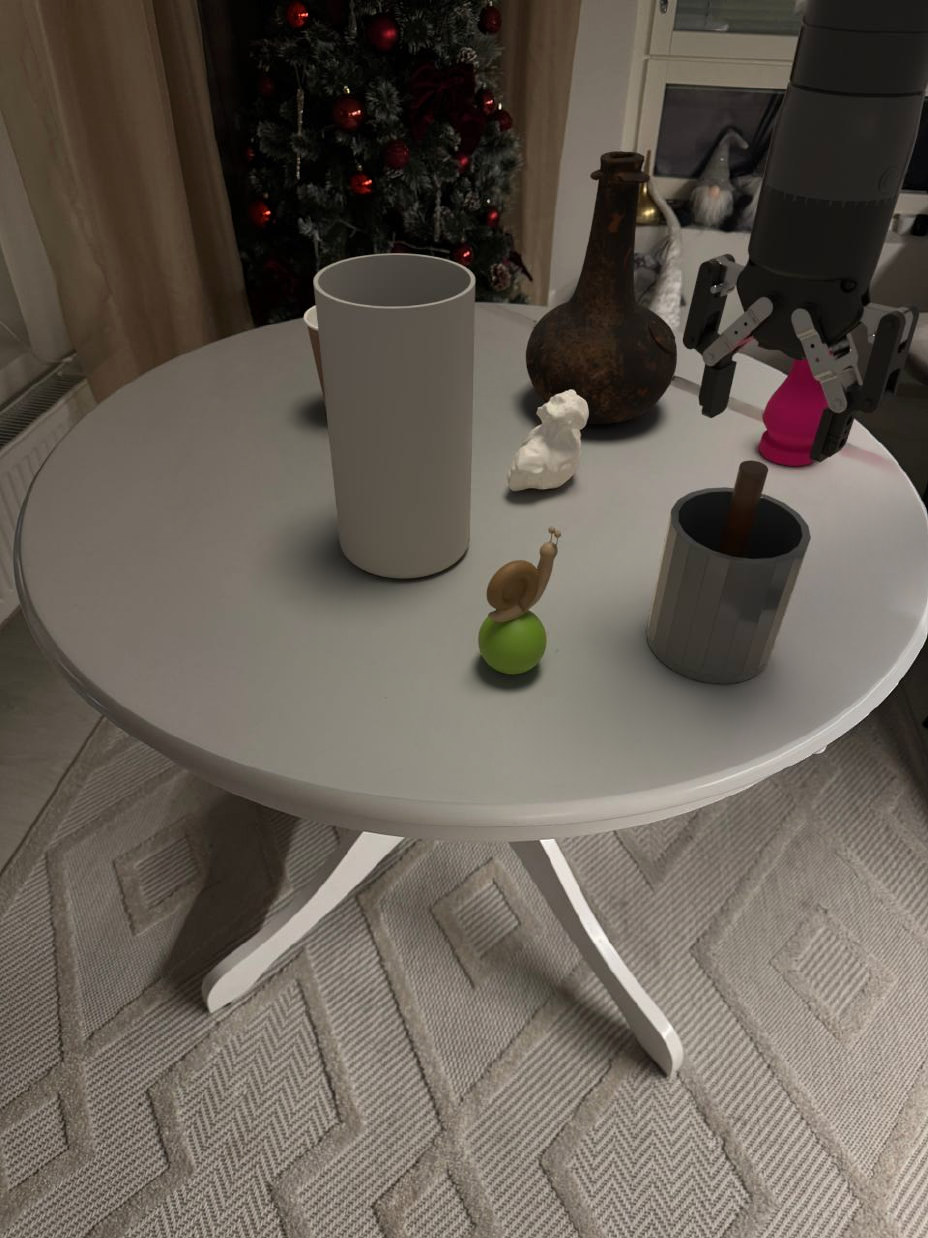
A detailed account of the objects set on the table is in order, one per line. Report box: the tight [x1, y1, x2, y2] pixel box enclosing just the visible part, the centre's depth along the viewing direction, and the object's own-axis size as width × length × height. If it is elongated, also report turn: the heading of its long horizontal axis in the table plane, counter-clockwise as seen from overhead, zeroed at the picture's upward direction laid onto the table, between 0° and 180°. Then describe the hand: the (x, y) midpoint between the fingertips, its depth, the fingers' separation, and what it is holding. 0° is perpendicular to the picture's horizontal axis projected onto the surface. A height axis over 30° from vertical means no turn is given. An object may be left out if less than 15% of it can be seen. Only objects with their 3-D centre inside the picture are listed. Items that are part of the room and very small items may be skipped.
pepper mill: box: [758, 348, 833, 467], centre depth 90 cm, size 7×7×20 cm
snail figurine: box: [477, 526, 562, 675], centre depth 65 cm, size 5×6×12 cm
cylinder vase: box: [313, 253, 476, 579], centre depth 73 cm, size 12×12×25 cm
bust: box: [506, 389, 589, 492], centre depth 88 cm, size 12×8×11 cm
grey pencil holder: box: [646, 486, 812, 685], centre depth 67 cm, size 10×10×12 cm
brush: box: [718, 459, 769, 558], centre depth 66 cm, size 4×4×16 cm
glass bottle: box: [525, 150, 678, 425], centre depth 95 cm, size 18×18×28 cm
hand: (764, 434), depth 59 cm, fingers open, 8 cm apart
